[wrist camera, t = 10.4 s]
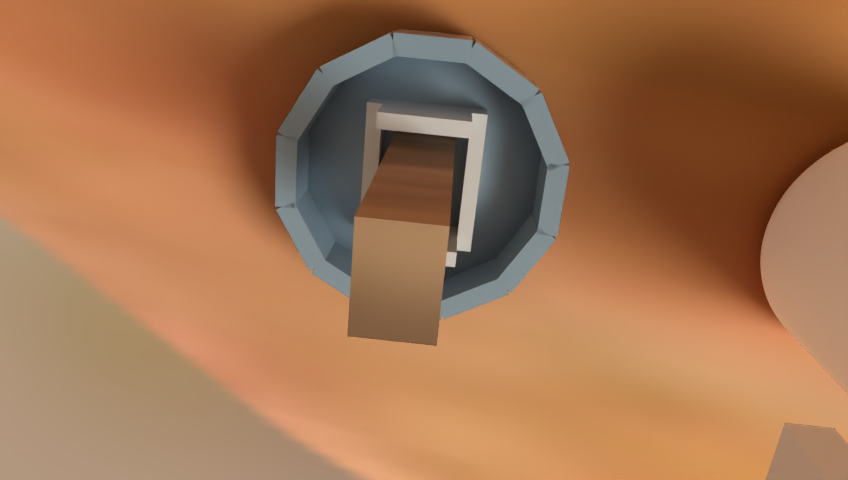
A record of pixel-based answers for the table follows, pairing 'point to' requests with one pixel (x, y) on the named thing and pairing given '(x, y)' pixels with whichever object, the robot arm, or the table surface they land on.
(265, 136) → the table surface
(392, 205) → the wooden rectangular block
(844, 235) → the cup
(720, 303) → the table surface
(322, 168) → the blue bowl
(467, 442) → the table surface
